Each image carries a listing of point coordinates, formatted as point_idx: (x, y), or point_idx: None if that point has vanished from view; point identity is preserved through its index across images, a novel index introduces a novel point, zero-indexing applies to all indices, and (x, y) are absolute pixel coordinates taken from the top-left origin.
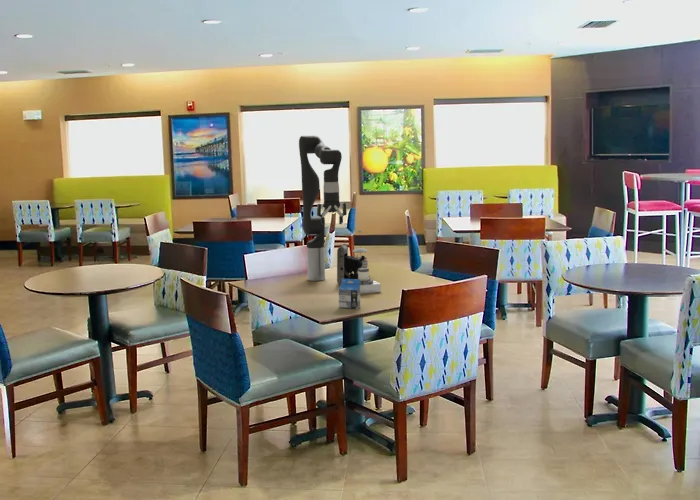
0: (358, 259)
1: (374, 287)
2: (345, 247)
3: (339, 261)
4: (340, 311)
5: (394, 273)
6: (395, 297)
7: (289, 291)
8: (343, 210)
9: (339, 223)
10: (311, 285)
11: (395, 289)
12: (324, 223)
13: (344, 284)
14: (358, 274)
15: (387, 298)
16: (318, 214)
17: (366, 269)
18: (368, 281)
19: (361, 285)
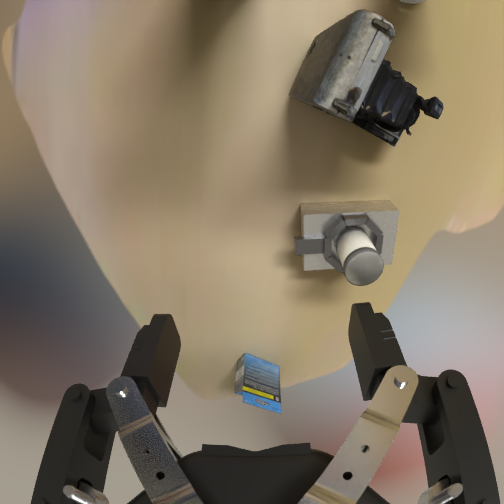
0: (409, 106)
1: None
2: (376, 69)
3: (312, 104)
4: None
5: (495, 8)
6: (384, 313)
7: (116, 162)
8: (451, 428)
9: (353, 308)
10: (191, 74)
11: (430, 231)
12: (174, 356)
13: (249, 394)
14: (341, 259)
15: None
16: (93, 431)
17: (369, 282)
18: None
19: (333, 268)
